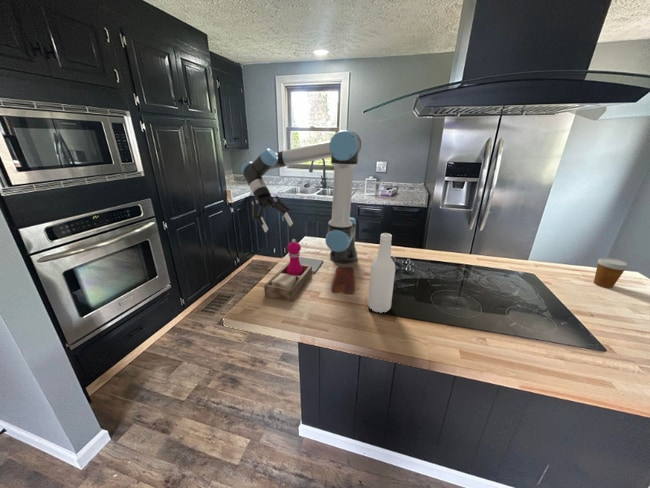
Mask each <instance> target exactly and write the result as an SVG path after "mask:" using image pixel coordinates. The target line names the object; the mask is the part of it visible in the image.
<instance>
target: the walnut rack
mask: <svg viewBox="0 0 650 488" xmlns="http://www.w3.org/2000/svg"><path fill="white" fill-rule="evenodd" d="M289 262H290V261H288V262H287V263H286V264H285V265H284V266H283V267H282V268H281V269H280V270H278V271H277V272H276V273H275V274H274V275H273V276H272V277H271V278H270V279H269V280H268V281H267V282H266V283H265V284H264V285H263V289H264V297H267V298H272V299H279V300H283V301H288V302H294V300H295V298H297V296H298V295H299V293H300V292H301V291H302V289H303V288H304V287H305V286H306V284H307V282H308V281H309V280H310V278H311V277H312V276H313V273H312V266H310V265H303V264H301V266H302V270H303V272H302V274H301V276H297V275H291V274H288V273H287V268H288V265H289ZM280 274H286V275H291V276H296V283H295V284H294V285H293V286H292V288H291V289H290V288H284V287H278V286H272V281H273V280H274V279H275V278H276V277H277V276H279V275H280Z"/></svg>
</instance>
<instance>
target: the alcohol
mask: <svg viewBox="0 0 650 488" xmlns="http://www.w3.org/2000/svg"><path fill="white" fill-rule="evenodd" d="M392 237H393V235H392V234H391V233H388V232H383V233H381V234H380V237H379V239H380V240H379V246H378V251H377V252H378V253H377V256H376V257H375V258H374V259H373V261H372V262H371V265H370V276H369V286H368V287H369V288H368V300H367V306H368V307H369V309H370V310H371V309H372V311H373V312H376V313H378V312H379V314H380V313H381V314H383V312H384V313H387V312H388V311H389V310H391V308H392V300H393V292H394V286H395V285H394V283H395V275H396V263H395V262H394V260H393V259H392V240H393V239H392Z"/></svg>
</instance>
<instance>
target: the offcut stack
mask: <svg viewBox="0 0 650 488" xmlns="http://www.w3.org/2000/svg"><path fill="white" fill-rule="evenodd" d="M295 283H296V276H291V275H286V274H280V275H279V276H277V277H276V278H275V279H274V280H273V281H272V286H278V287H284V288H290V289H291V288H292V286H293V285H294V284H295Z"/></svg>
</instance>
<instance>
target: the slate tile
mask: <svg viewBox="0 0 650 488" xmlns="http://www.w3.org/2000/svg"><path fill="white" fill-rule="evenodd" d="M299 262H300V264H303V265H310V266H312V274H317V273H316V272H317V271H318V270H319V269H320V267H321V266H322V265H323V263H324V259H316V258H311V257H302V256H299Z"/></svg>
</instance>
